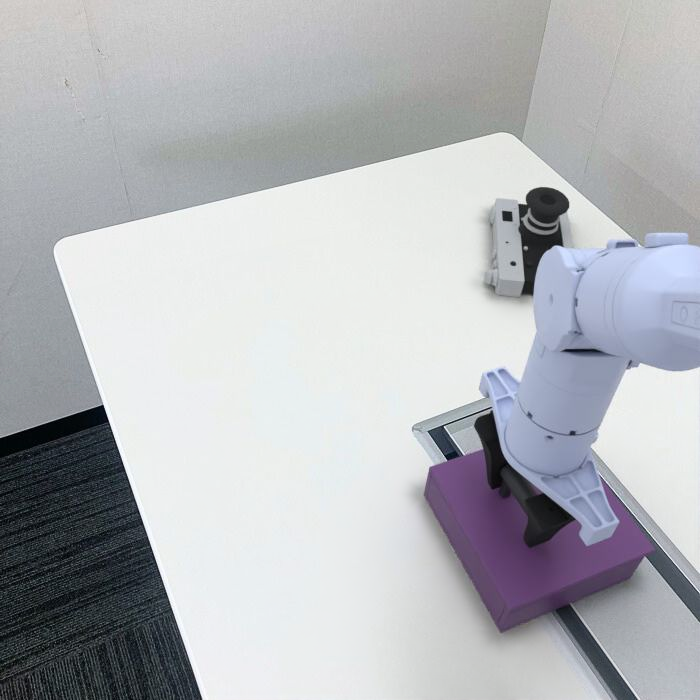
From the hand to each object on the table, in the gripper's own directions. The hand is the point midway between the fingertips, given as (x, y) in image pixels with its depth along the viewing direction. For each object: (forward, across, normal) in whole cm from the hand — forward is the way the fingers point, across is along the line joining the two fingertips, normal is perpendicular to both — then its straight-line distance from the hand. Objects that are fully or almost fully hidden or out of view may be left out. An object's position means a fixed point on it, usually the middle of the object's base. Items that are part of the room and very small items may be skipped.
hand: (518, 511), depth 59 cm
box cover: (+1, 0, -2) cm, 2 cm away
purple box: (+5, 0, -2) cm, 5 cm away
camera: (+5, +32, -22) cm, 39 cm away
